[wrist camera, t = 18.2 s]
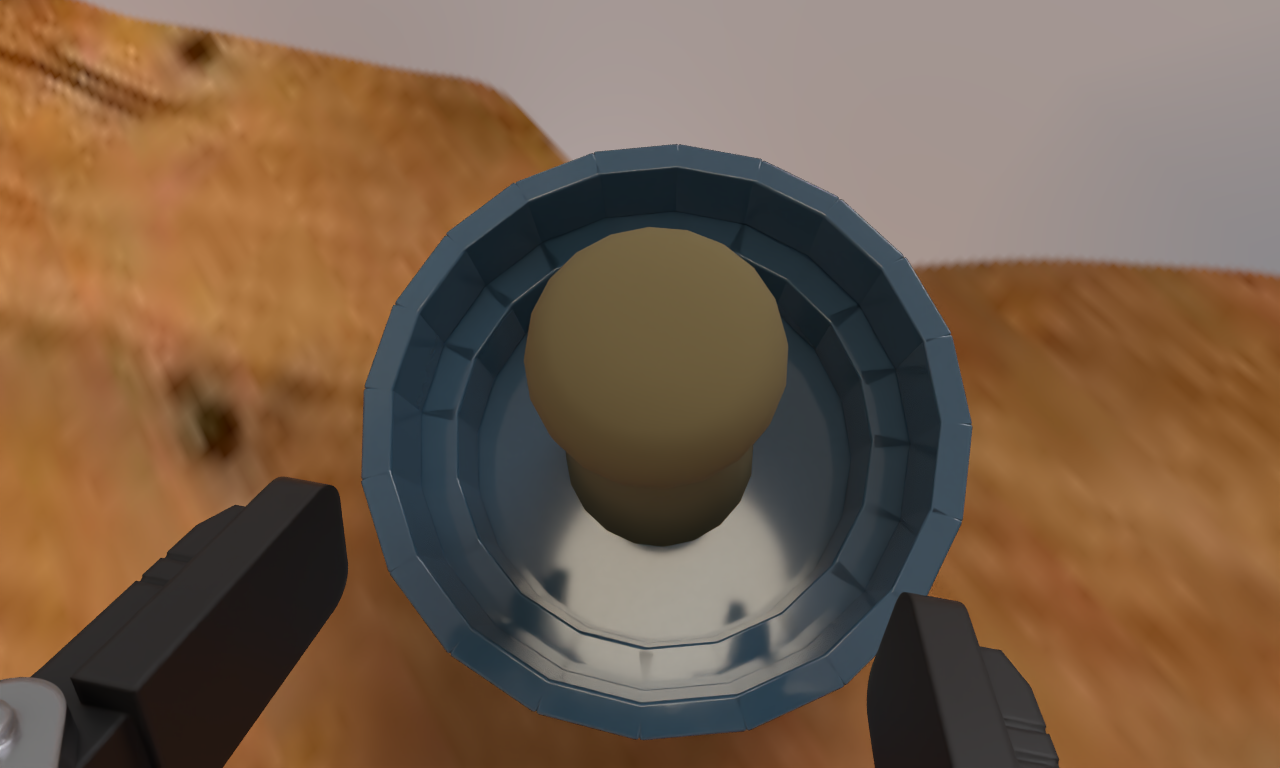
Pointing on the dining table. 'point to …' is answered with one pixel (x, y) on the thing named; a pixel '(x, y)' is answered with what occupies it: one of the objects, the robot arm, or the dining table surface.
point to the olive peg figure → (657, 379)
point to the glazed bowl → (752, 533)
